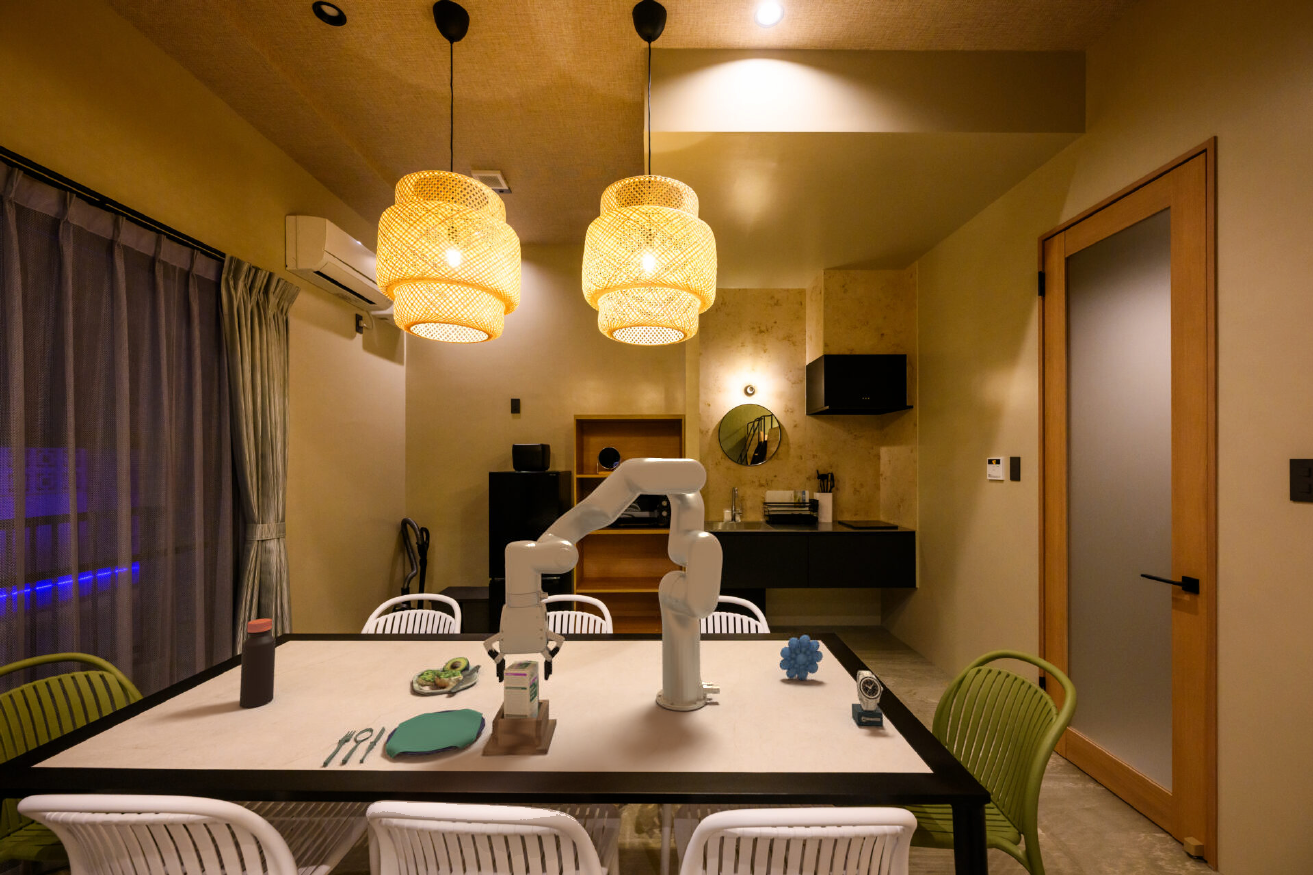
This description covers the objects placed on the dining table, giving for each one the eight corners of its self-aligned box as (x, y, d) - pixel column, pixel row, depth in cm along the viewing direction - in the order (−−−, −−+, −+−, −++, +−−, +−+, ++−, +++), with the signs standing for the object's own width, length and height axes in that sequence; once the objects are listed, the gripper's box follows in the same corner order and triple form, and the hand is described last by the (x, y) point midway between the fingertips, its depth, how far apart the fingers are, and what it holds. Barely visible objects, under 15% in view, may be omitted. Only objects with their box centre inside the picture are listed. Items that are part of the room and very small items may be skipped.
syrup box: (529, 741, 111) (530, 670, 112) (502, 739, 112) (503, 668, 113) (539, 728, 116) (540, 660, 117) (513, 726, 117) (514, 659, 118)
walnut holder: (556, 723, 121) (556, 696, 121) (547, 753, 108) (547, 723, 108) (498, 725, 120) (498, 697, 121) (482, 755, 107) (482, 725, 108)
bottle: (276, 702, 133) (279, 620, 134) (242, 711, 128) (245, 626, 129) (269, 694, 138) (272, 615, 139) (236, 703, 133) (240, 621, 134)
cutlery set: (479, 756, 107) (479, 744, 108) (315, 776, 102) (315, 763, 102) (490, 713, 127) (490, 703, 127) (353, 728, 121) (353, 718, 121)
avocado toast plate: (486, 693, 139) (486, 674, 139) (410, 705, 132) (411, 685, 132) (479, 667, 156) (480, 651, 157) (413, 677, 149) (413, 660, 150)
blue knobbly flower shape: (820, 674, 149) (819, 630, 150) (825, 683, 142) (824, 638, 143) (777, 672, 150) (776, 629, 151) (781, 682, 143) (780, 637, 144)
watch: (860, 730, 117) (858, 679, 117) (850, 713, 125) (848, 665, 125) (886, 731, 116) (884, 679, 117) (874, 714, 124) (873, 666, 125)
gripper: (565, 593, 120) (567, 670, 119) (488, 596, 119) (488, 674, 118) (561, 601, 113) (562, 684, 112) (478, 604, 112) (479, 688, 111)
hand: (524, 678), depth 115 cm, fingers open, 9 cm apart
